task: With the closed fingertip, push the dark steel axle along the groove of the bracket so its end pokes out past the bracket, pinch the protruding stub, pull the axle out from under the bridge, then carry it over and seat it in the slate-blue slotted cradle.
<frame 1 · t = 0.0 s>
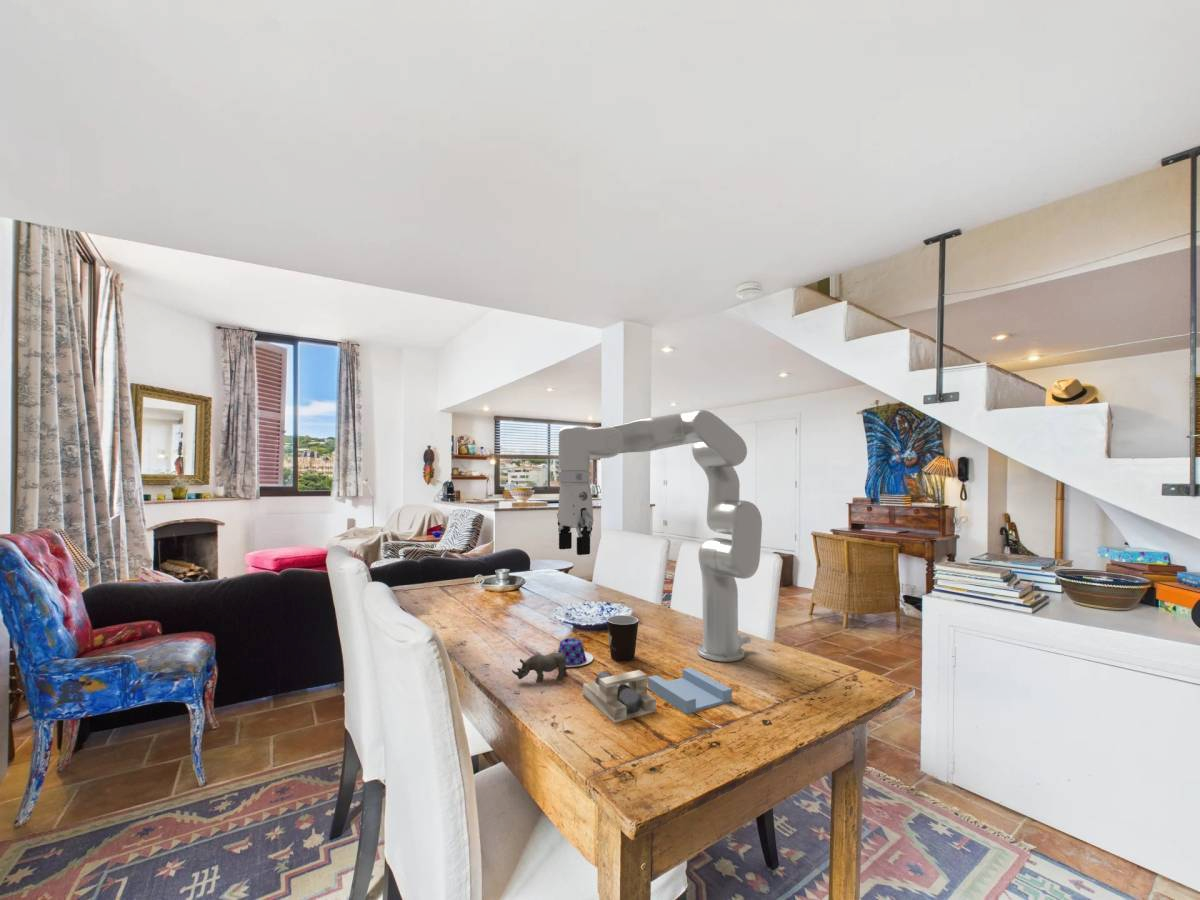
hand: (574, 551, 117), 31 cm above the table, fingers open, 9 cm apart
bracket: (618, 703, 108), on the table
axle: (617, 690, 108), point 2 cm above the table, touching bracket
pudding: (570, 661, 133), on the table
coffee mug: (623, 656, 136), on the table
rhino figurine: (540, 680, 120), on the table
cradle: (688, 694, 112), on the table
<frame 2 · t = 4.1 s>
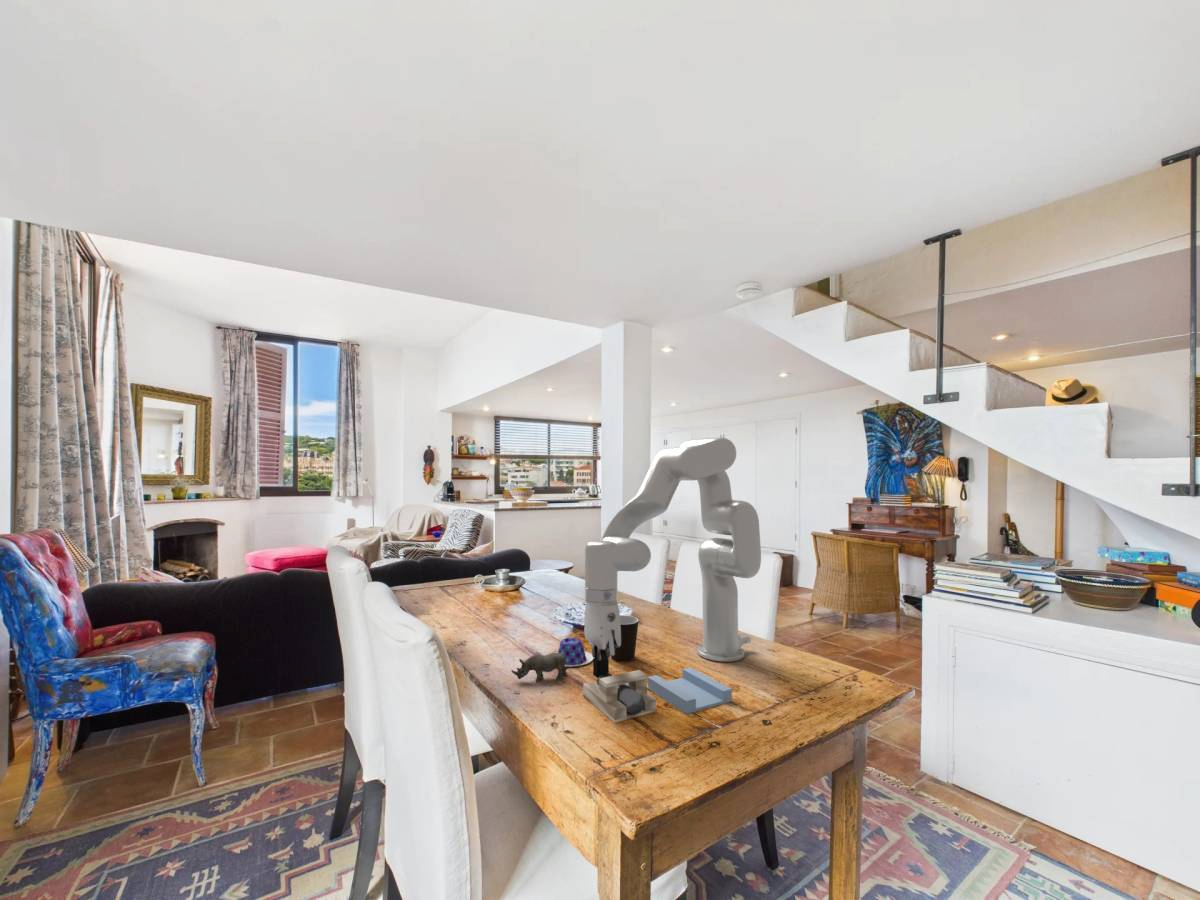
hand: (600, 675, 114), 3 cm above the table, fingers closed
axle: (619, 692, 107), point 2 cm above the table, touching bracket, gripper
everything else where it was.
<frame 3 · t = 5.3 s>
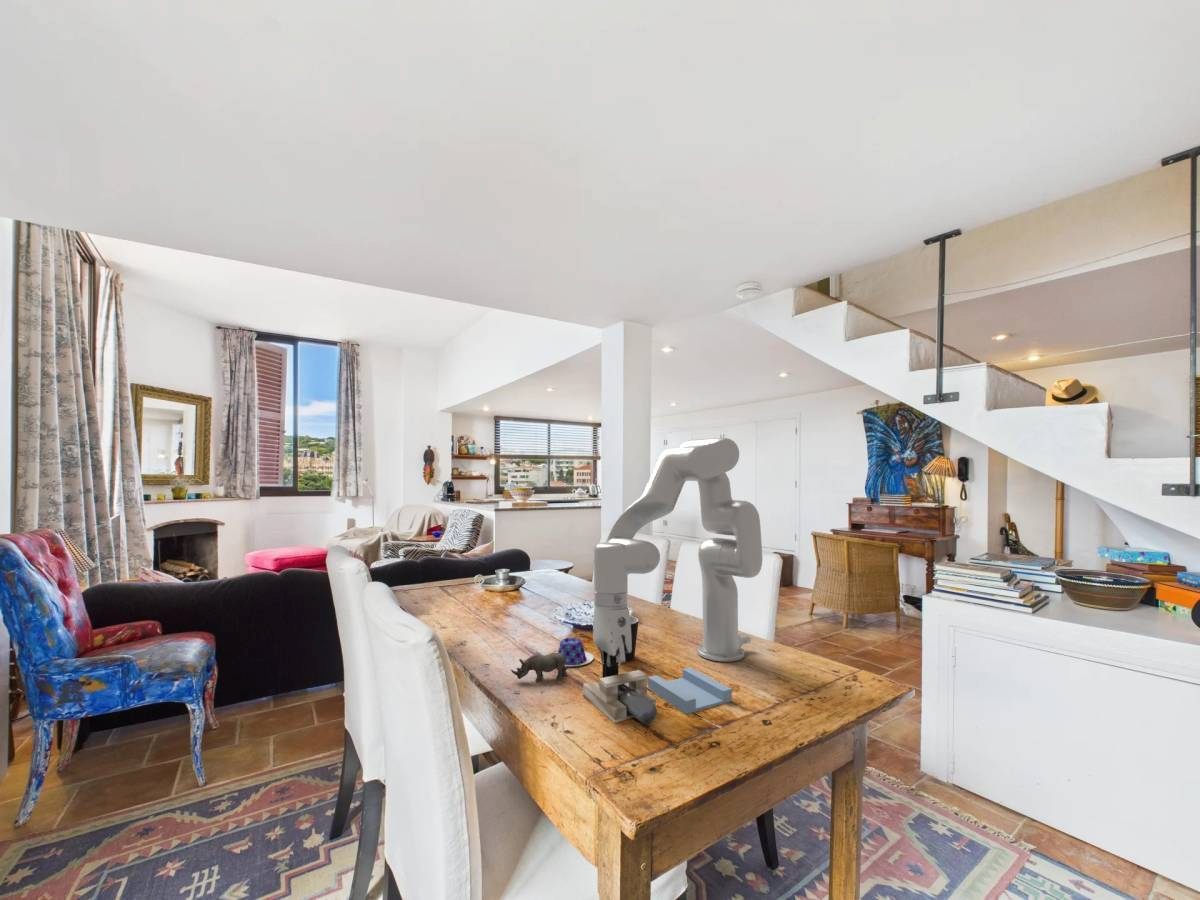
hand: (610, 682, 110), 3 cm above the table, fingers closed
axle: (630, 700, 103), point 2 cm above the table, touching bracket, gripper
everything else where it was.
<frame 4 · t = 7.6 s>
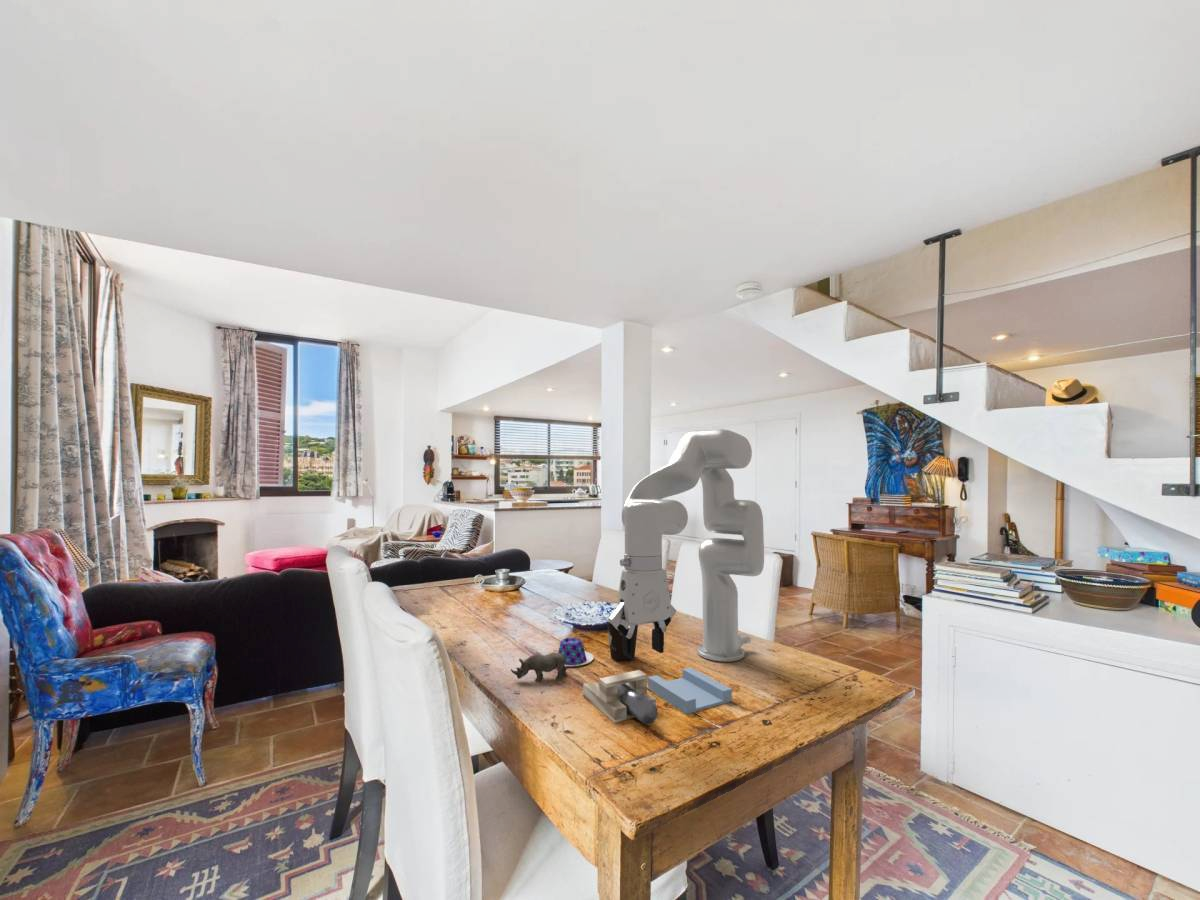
hand: (643, 653, 100), 14 cm above the table, fingers open, 6 cm apart
axle: (631, 700, 103), point 2 cm above the table, touching bracket
everything else where it was.
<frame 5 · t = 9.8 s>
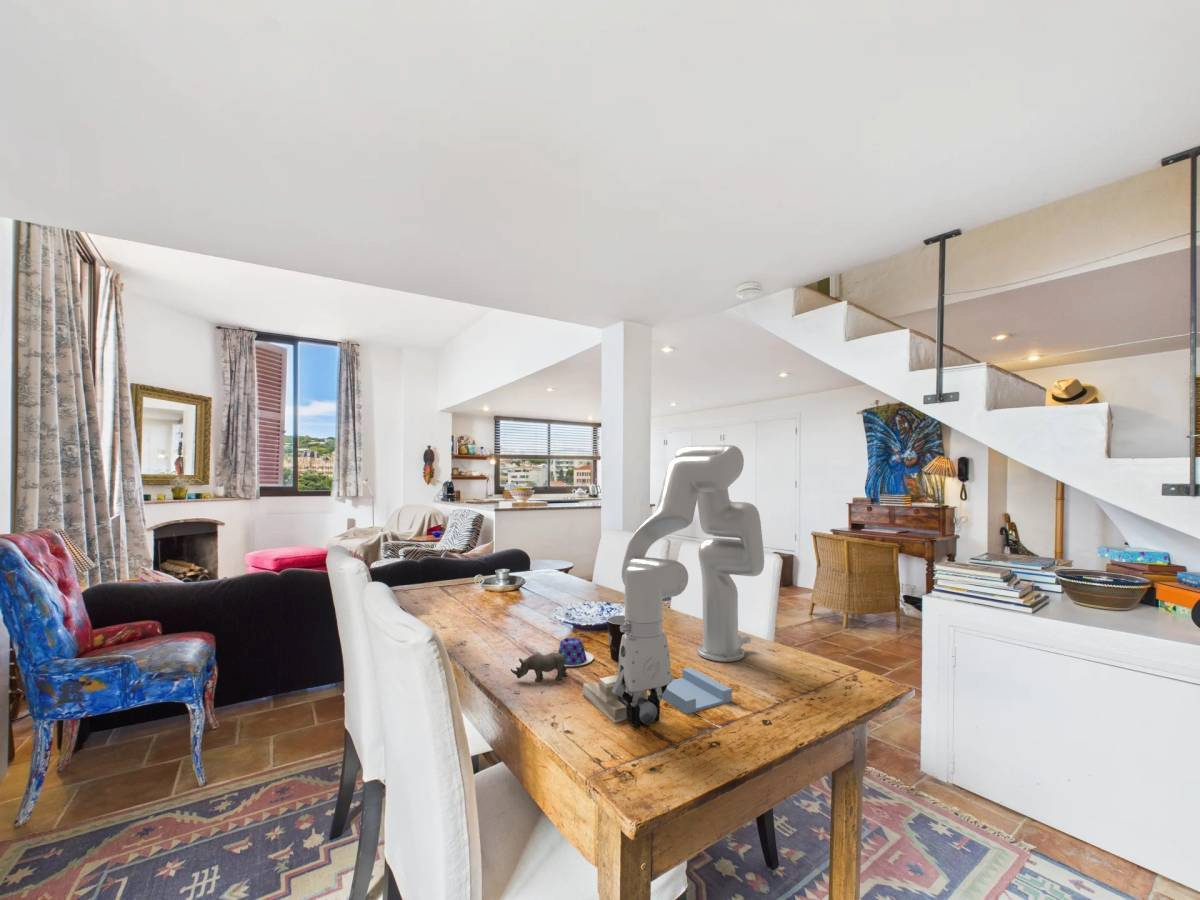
hand: (643, 720, 99), 1 cm above the table, fingers closed on axle, 4 cm apart
axle: (631, 700, 103), point 3 cm above the table, touching bracket, gripper
everything else where it was.
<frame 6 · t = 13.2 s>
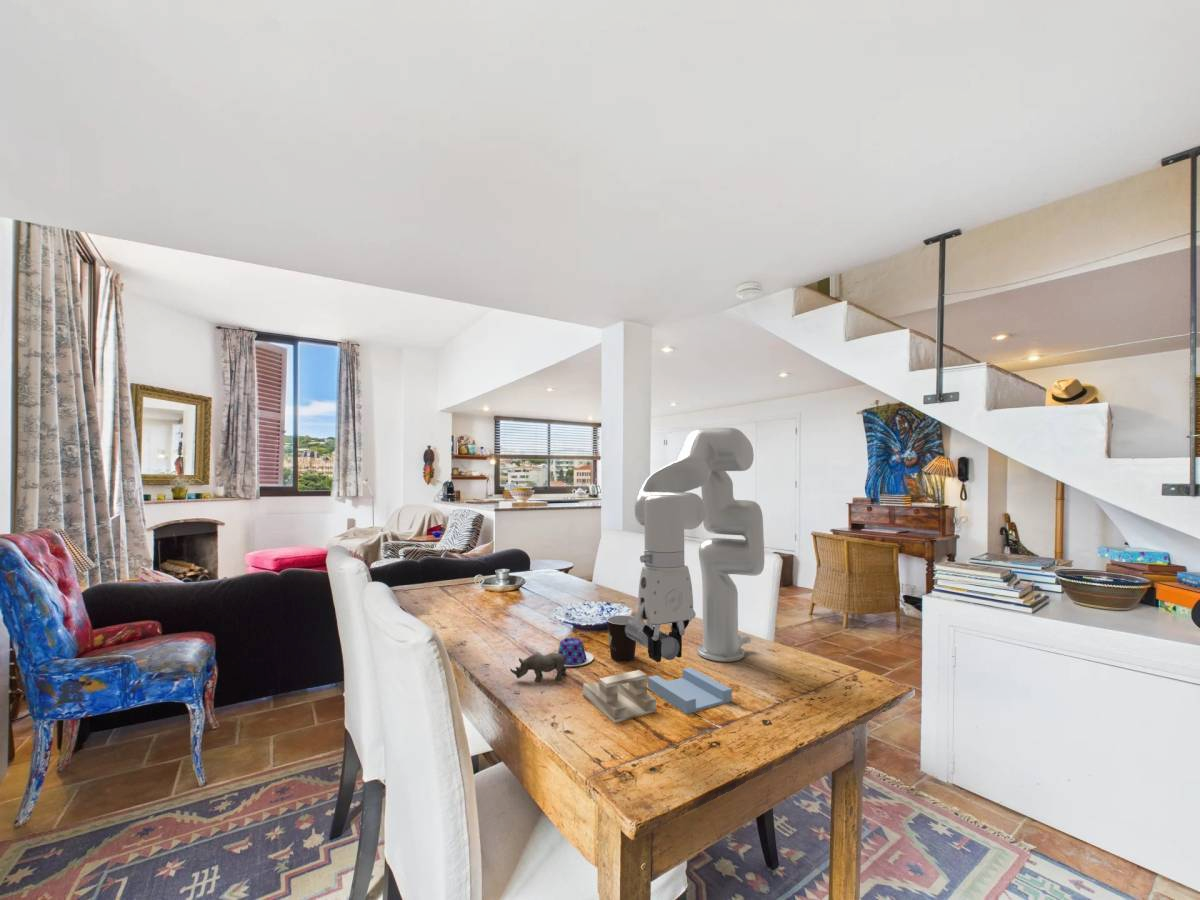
hand: (665, 656, 94), 15 cm above the table, fingers closed on axle, 4 cm apart
axle: (650, 638, 98), point 17 cm above the table, touching gripper
everything else where it was.
when the fingers open (3 cm above the table, at t = 16.9 s): axle drops 2 cm, resting on cradle.
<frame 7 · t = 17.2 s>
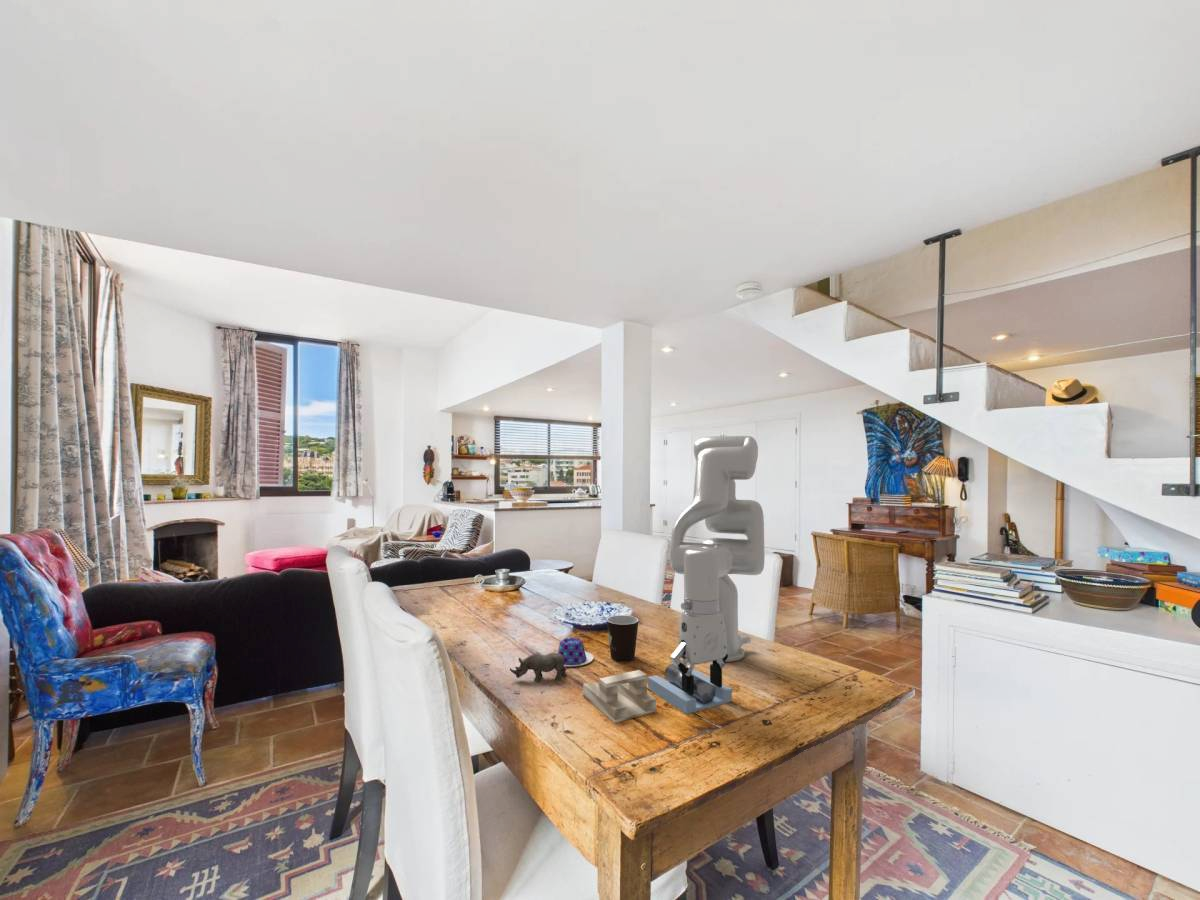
hand: (702, 688, 108), 3 cm above the table, fingers open, 7 cm apart
axle: (688, 682, 112), point 3 cm above the table, touching cradle
everything else where it was.
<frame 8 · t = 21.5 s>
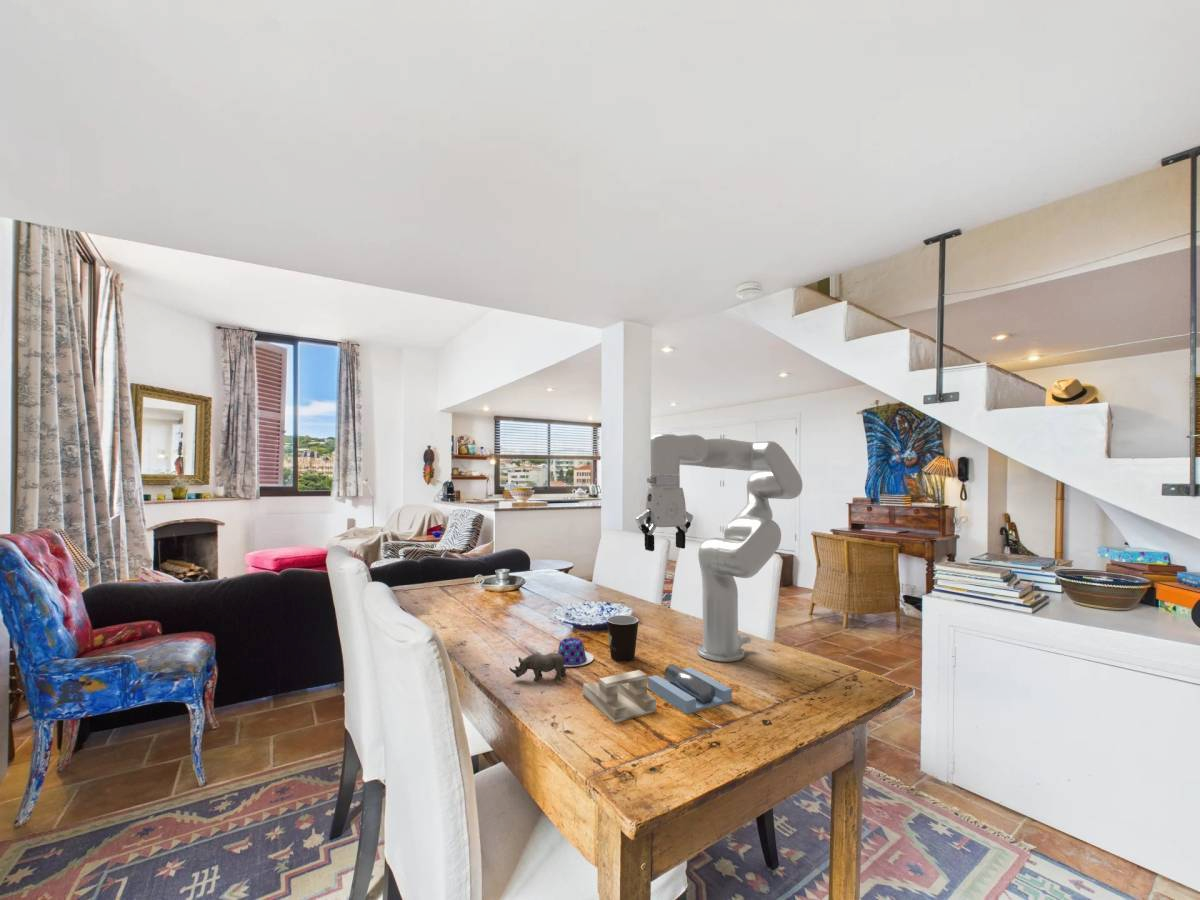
hand: (665, 549, 127), 30 cm above the table, fingers open, 9 cm apart
at the end: axle inside the target area on the cradle (0.1 cm from its centre), point 2.6 cm above the cradle's base; axle touching cradle; the gripper is holding nothing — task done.
